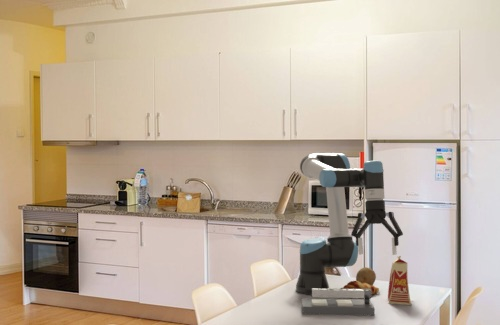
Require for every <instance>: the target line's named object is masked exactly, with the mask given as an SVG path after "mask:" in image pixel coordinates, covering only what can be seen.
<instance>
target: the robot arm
mask: <svg viewBox="0 0 500 325" xmlns="http://www.w3.org/2000/svg"><path fill="white" fill-rule="evenodd" d="M383 164H384V163H383V162H382V161H380V160H368V161H365V162H363V167H362V168H351V163H350V161H349V158H348V156H346V154H344V153H338V152H332V153H331V152H325V153H324V152H322V153H320V152H314V153H310V154H307V155H306V156H304V157H303V158H302V159H301V161H300V163H299V169H300V172H301V174H302V175H304V176H305V177H307V178H309V179H313V178H314V179H315V180H318V181H319V184H320V186H321V187H323V188H325V190H326V203H327V212H328V213H327V214H328V225H329V233H330V234H329V236H328V237H327V239H325V238H309V239H306V240H304V241H301V243H300V244H299V247H300V248H299V275H298V278H297V281H296V284H295V291H296V292H297V293H300V294H305V295H312V288H326V289H330V285H329V281H328V279H327V275H326V268H341V267H343V268H346V267H352V266H354V265H355V264H356V263H357V261H358V258H359V256H360V255H364V246H363V242H364V241H363V237H362V236H363V234H364V233H365V231H367V229H368V227H369V226H370V225H373V224H374V225H375V224H380V225H383V227H385V229H386V230H387V231H388V232H389V233H390V234H391V236H392V237H391V247H392V248H391V251H392V252H391V253H392V256H393V255H394V256H396V255H397V253H398V252H397V246H400V245H399V244H400V243H399V237H401V236H403V235H404V233H403V231H402V229H401V227H400V225H399V224H398V222H397V220H396V217H395V215H394V214H395V213H394V212H393V211H389V212H386V203H385V200H384V199H386V198H385V187H384V186H385V183H384V182H385V180H384V179H385V178H384V170H385V169H384V167H383V166H384V165H383ZM345 188H360V189H361V188H363V189H364V199H365V204H364V205H365V213H362V212H358V214H357V220H356V222H355V224H354V226H353V229H352V231H351V234H350V233H349V224H348V221H349V220H348V212H347V204H346V202H347V201H346V194H345V193H346V191H345ZM386 217H387V218H389V220H390V222H391V224H392V226H391V225H390V224H389V223H388V221H387V220H386V219H385V218H386ZM365 218H366V220H365V222H364V223H363V219H365ZM362 223H363V225H362ZM361 225H362V226H361ZM360 226H361V227H360ZM359 228H360V229H359ZM394 229H395V230H394ZM353 237H354V238H355V240H353ZM326 240H327V241H326Z"/></svg>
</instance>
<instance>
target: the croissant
mask: <svg viewBox="0 0 500 325" xmlns="http://www.w3.org/2000/svg"><path fill="white" fill-rule="evenodd" d="M339 289H371V290H372V295H376V294H377V293H379V292H380V288H379V287H376V286H375V285H374V284H373V285H372V286H371V285H369V284H367V283H361V282H359V281H356V280H351V281H349V282H347V284H345V285H344V286H343V287H340V288H339Z"/></svg>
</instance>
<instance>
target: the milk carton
mask: <svg viewBox="0 0 500 325" xmlns="http://www.w3.org/2000/svg"><path fill="white" fill-rule="evenodd" d="M391 263H392V264H391V268H390V274H389V282H388V289H387V290H388V291H387V299H388V304H393V305H405V306H407V305H408V306H412V302H411V297H410V296H411V295H410V289H409V280H408V262H406V261H404V260H402V259H401V255H399V256H397V259H395V260H394V261H393V262H391Z"/></svg>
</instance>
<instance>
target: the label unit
mask: <svg viewBox="0 0 500 325" xmlns="http://www.w3.org/2000/svg"><path fill="white" fill-rule="evenodd" d="M301 310H302V315H331V316H332V315H333V316H337V315H338V316H375V310H376V309H375V306H374V305H373V302H372V301H371V298H369V299H367V298H352V299H351V298H306V297H305V298H301Z"/></svg>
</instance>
